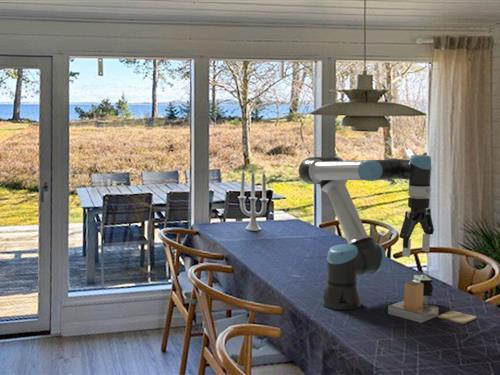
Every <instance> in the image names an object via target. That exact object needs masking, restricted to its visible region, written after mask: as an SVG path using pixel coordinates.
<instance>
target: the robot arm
mask: <svg viewBox="0 0 500 375" xmlns="http://www.w3.org/2000/svg"><path fill="white" fill-rule="evenodd" d="M298 175H299V177H300V179H301V180H302V181H303V182H305V183H306V184H309V185H319V187H320V189H321V191H322V192H323V193H325V194H327V196H328V199H329V202H330V203H331V206H332V208H333V211H334V214H335V215H336V218H337V220H338V222H339V225H340V227H341V230H342V231H343V235H344V237H345V239H346V241H347V243H343V244H341V243H340V244H337V245H333V246H331V247H330V248H329V249H328V251H327V258H326V261H327V262H326V263H327V264H326V265H327V274H326V275H327V279H326V280H327V281H326V282H327V283H326V288H325V289H324V293H323V296H322V299H321V300H322V301H321V302H322V305H323V306H324V307H326V308H328V309H332V310H337V311H338V310H340V311H350V310H356V309H359V308H360V307H361V306H362V305H361V304H362V300H361V296H360V293H359V289H358V286H357V285H358V277H360V276H365V275H373V274H375V273H378V272H380V271H381V270H383V269H384V267H385V264H386V261H387V252H386V251H385V248H384V247H383V246H382V245H381V244H380V243H376V242H375V240H374V238H373V236H371V235H368V234H367V232H366V229H365V227H364V224H363V222H362V220H361V218H360V215H359V212H358V211H357V208H356V206H355V204H354V201H353V199H352V197H351V195H350V192H349V190H348V188H347V186H346V184H347V181H366V182H367V181H368V182H374V181H375V182H376V181H384V180H385V181H386V180H406V181H408V194H407V195H408V196H409V197H408V199H407V200H408V201H407V207H408V208H410V211H407V210H406V211H405V213H404V218H403V219H404V220H403V223H402V225H401V229H400V233H399V238H400V239H402V255H401V256H402V257H406V258H410V257H411V246H412V245H411V244H412V243H411V241H412V240H411V237H412V234H413V232H414V230H415V228H416V225H418V224H420V226H421V229H422V231H423V233H422V241H421V242H422V244H421V251H422V252H428V253H429V252H430V247H431V235H434V231H435V229H434V223H433V219H432V215H431V213H432V212H431V208H430V198H429V197H430V192H431V176H432V158H431V156H429V155H427V154H426V155H425V154H423V155H422V154H412V155H410V158H409V159H404V158H403V159H402V158H396V157H394V158H386V159H367V160H366V159H365V160H364V159H361V160H344V159H343V158H341V157H338V156H334V155H333V156H332V155H329V156H311V157H307V158H305V159H303V160H302V161H301V162H300V164H299V166H298Z"/></svg>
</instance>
